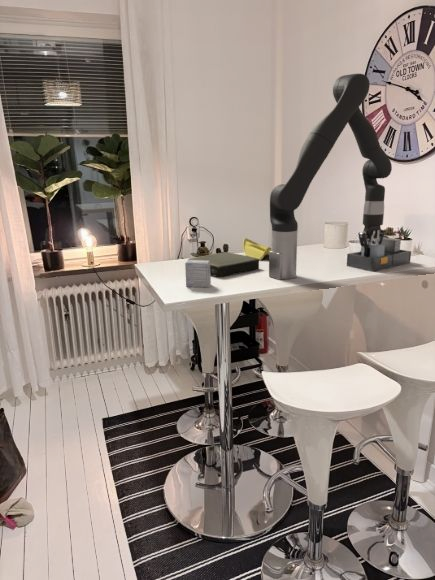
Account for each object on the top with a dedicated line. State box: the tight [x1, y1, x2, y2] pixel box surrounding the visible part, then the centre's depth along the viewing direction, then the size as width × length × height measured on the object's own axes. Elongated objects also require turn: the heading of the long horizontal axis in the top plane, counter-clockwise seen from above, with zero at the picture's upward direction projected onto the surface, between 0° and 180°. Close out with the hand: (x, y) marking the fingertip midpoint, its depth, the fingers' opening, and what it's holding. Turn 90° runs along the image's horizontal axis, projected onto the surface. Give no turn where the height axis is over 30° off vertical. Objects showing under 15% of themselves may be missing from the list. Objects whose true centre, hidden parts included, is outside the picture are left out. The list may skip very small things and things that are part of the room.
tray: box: [346, 236, 412, 273], centre depth 172 cm, size 24×13×10 cm, turn 123°
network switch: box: [187, 251, 260, 278], centre depth 171 cm, size 23×24×5 cm
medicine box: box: [184, 260, 212, 288], centre depth 146 cm, size 8×4×9 cm, turn 78°
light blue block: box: [361, 242, 385, 258], centre depth 169 cm, size 4×8×8 cm, turn 33°
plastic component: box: [242, 237, 271, 261], centre depth 196 cm, size 20×7×10 cm
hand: (370, 255), depth 170 cm, fingers closed on light blue block, 3 cm apart
